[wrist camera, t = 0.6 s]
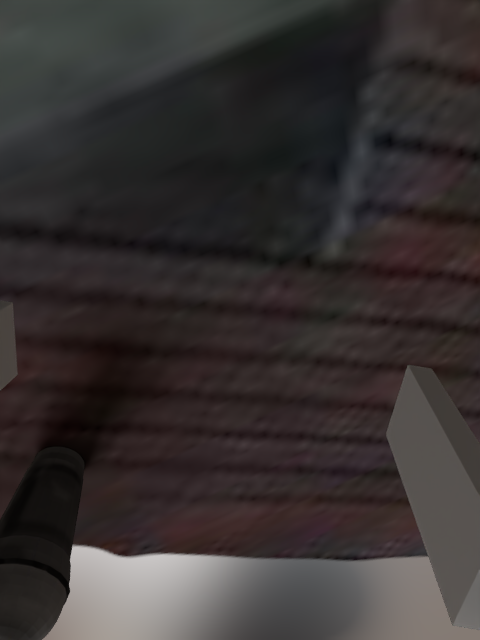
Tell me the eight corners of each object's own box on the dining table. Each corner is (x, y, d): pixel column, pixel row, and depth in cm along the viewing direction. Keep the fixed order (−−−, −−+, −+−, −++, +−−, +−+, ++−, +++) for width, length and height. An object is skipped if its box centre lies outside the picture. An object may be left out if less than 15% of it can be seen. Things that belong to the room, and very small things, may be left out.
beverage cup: (89, 430, 40) (6, 709, 23) (108, 485, 44) (49, 760, 27) (6, 440, 40) (-138, 727, 23) (32, 494, 44) (-75, 777, 27)
